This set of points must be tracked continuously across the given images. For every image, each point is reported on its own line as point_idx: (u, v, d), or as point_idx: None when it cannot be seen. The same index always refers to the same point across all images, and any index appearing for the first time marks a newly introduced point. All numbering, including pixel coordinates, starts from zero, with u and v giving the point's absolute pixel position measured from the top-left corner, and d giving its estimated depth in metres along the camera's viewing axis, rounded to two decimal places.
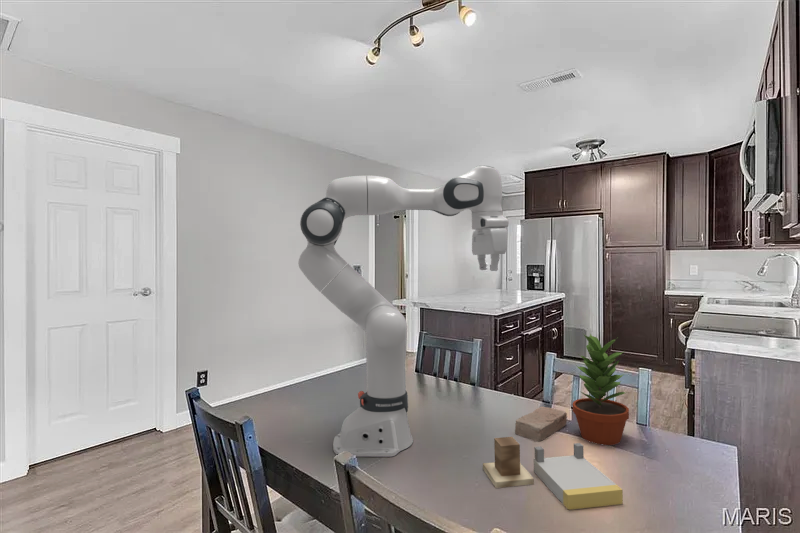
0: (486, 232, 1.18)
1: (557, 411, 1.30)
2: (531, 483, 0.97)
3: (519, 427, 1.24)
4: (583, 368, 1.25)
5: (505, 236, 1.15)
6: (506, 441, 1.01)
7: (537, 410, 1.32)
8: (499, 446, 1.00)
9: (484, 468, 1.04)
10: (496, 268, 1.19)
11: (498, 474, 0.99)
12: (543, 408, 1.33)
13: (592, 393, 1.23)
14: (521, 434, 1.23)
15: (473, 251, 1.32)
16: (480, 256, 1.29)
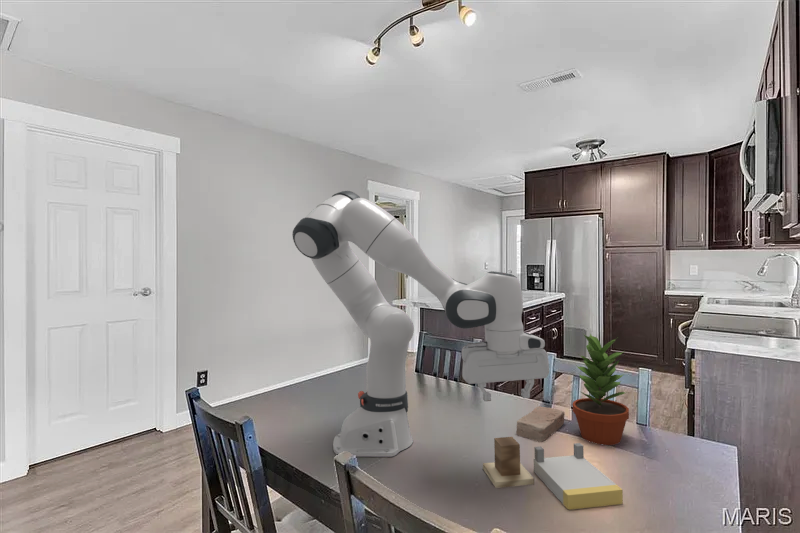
0: (531, 354, 0.99)
1: (555, 410, 1.31)
2: (531, 483, 0.97)
3: (521, 428, 1.23)
4: (583, 368, 1.25)
5: None
6: (506, 441, 1.01)
7: (535, 410, 1.32)
8: (499, 446, 1.00)
9: (484, 468, 1.04)
10: None
11: (498, 474, 0.99)
12: (540, 408, 1.34)
13: (592, 393, 1.23)
14: (523, 435, 1.23)
15: (475, 379, 0.98)
16: None
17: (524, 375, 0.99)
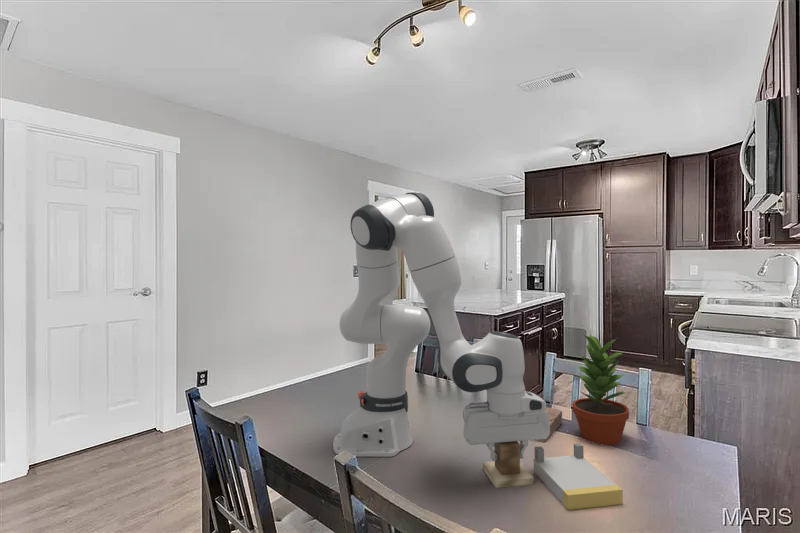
0: (533, 415, 0.99)
1: (553, 410, 1.31)
2: (531, 482, 0.97)
3: None
4: (583, 368, 1.25)
5: None
6: None
7: None
8: (499, 445, 1.00)
9: (484, 467, 1.04)
10: None
11: (498, 473, 0.99)
12: None
13: (592, 393, 1.23)
14: None
15: (476, 440, 0.98)
16: None
17: (525, 436, 0.99)
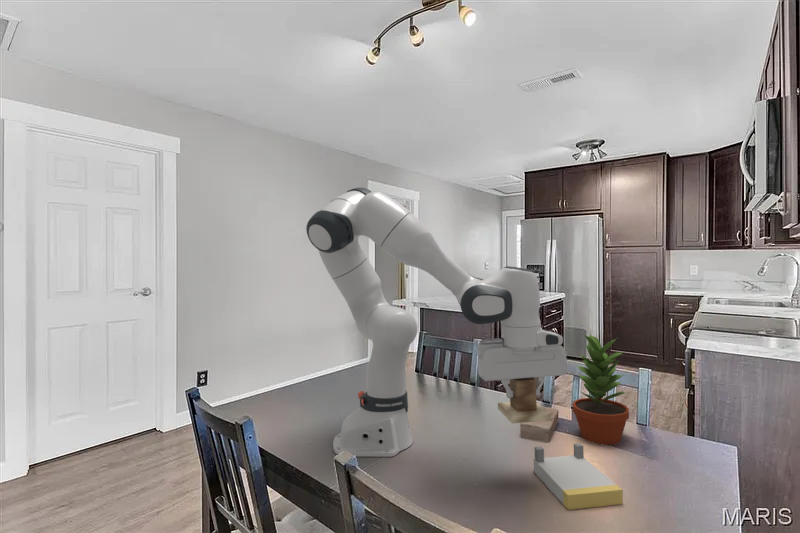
0: (549, 350, 0.97)
1: (550, 409, 1.32)
2: (548, 418, 0.95)
3: (525, 430, 1.22)
4: (583, 368, 1.25)
5: None
6: (522, 378, 0.98)
7: None
8: (514, 382, 0.97)
9: (499, 407, 1.02)
10: None
11: (514, 410, 0.97)
12: None
13: (592, 393, 1.23)
14: (528, 437, 1.21)
15: (491, 376, 0.96)
16: None
17: (541, 372, 0.97)
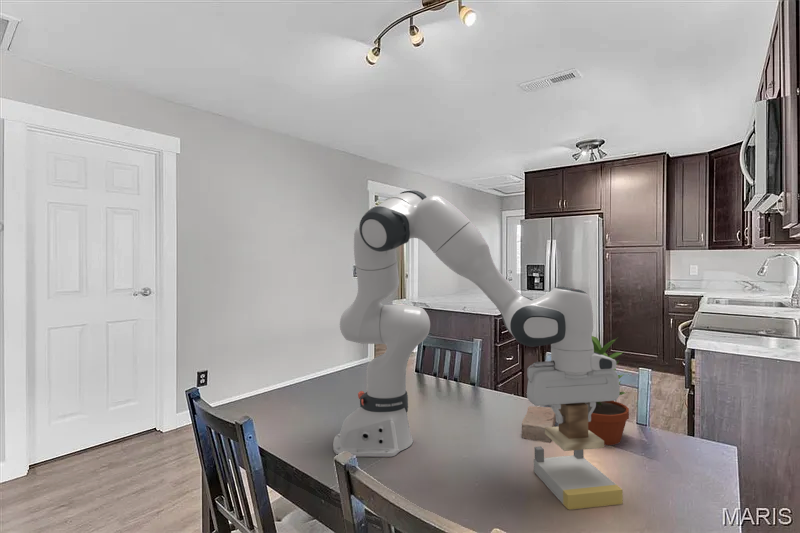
0: (602, 375, 0.93)
1: (548, 409, 1.32)
2: (601, 446, 0.91)
3: (527, 430, 1.21)
4: None
5: None
6: None
7: (529, 410, 1.32)
8: (565, 407, 0.94)
9: (547, 432, 0.98)
10: None
11: (564, 437, 0.94)
12: (533, 407, 1.34)
13: None
14: (530, 438, 1.21)
15: (542, 401, 0.92)
16: None
17: (593, 397, 0.94)
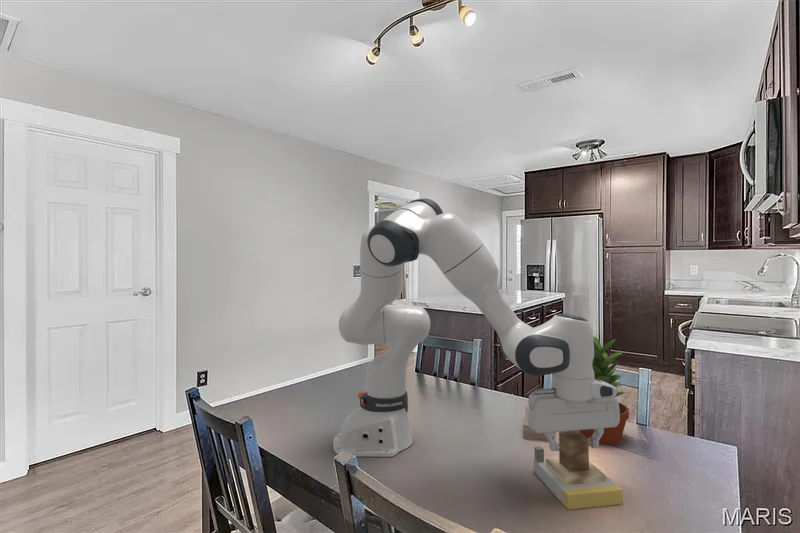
0: (602, 402, 0.94)
1: None
2: (602, 479, 0.92)
3: (529, 431, 1.21)
4: None
5: None
6: (573, 435, 0.96)
7: (528, 410, 1.32)
8: (566, 441, 0.94)
9: (548, 463, 0.98)
10: None
11: (565, 470, 0.94)
12: None
13: None
14: (532, 438, 1.20)
15: (543, 428, 0.93)
16: None
17: (594, 424, 0.94)
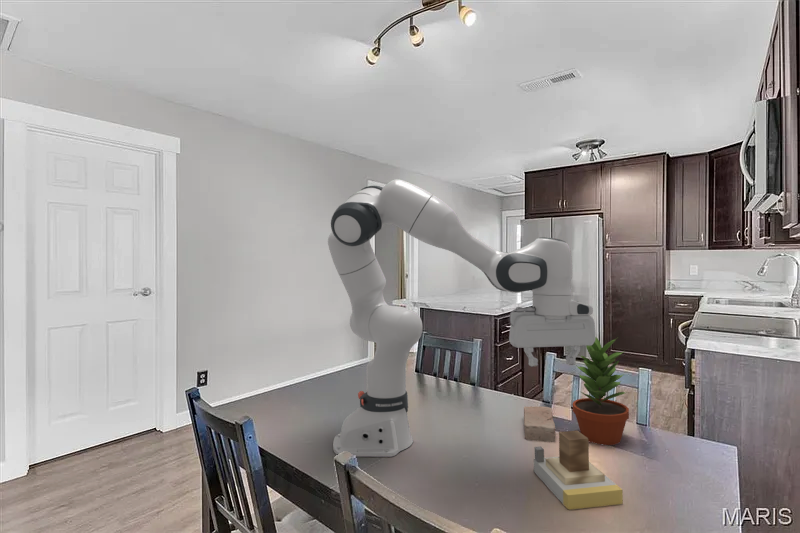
0: (579, 320, 0.99)
1: (543, 408, 1.33)
2: (602, 479, 0.92)
3: (531, 431, 1.20)
4: (583, 368, 1.25)
5: None
6: (573, 435, 0.96)
7: (526, 410, 1.32)
8: (566, 441, 0.94)
9: (548, 463, 0.98)
10: None
11: (565, 470, 0.94)
12: (528, 408, 1.34)
13: (592, 393, 1.23)
14: (534, 439, 1.20)
15: (523, 343, 0.98)
16: None
17: (571, 341, 1.00)
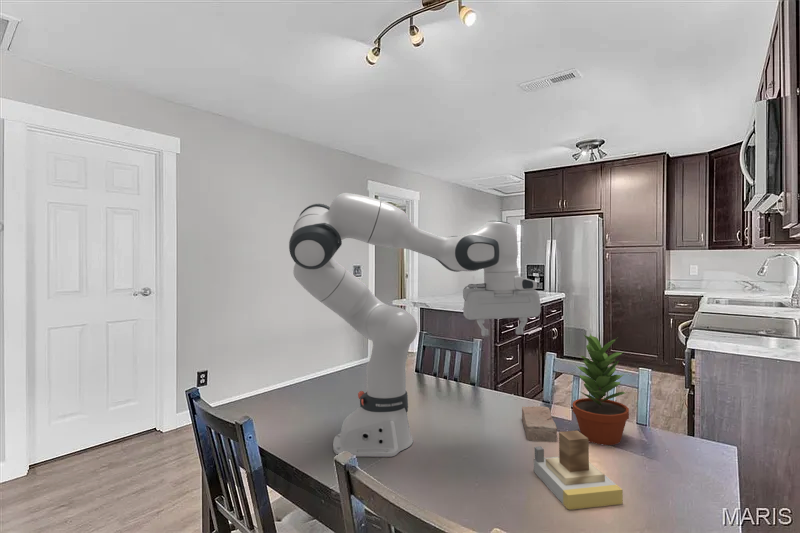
0: (525, 294, 1.11)
1: (541, 408, 1.33)
2: (602, 479, 0.92)
3: (533, 432, 1.20)
4: (583, 368, 1.25)
5: None
6: (573, 435, 0.96)
7: (525, 411, 1.32)
8: (566, 441, 0.94)
9: (548, 463, 0.98)
10: None
11: (565, 470, 0.94)
12: (527, 408, 1.34)
13: (592, 393, 1.23)
14: (536, 439, 1.20)
15: (474, 315, 1.10)
16: None
17: (518, 313, 1.11)
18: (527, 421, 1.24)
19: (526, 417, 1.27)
